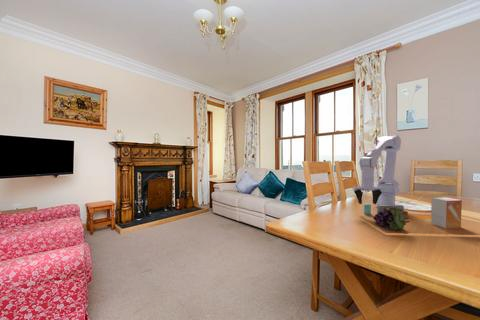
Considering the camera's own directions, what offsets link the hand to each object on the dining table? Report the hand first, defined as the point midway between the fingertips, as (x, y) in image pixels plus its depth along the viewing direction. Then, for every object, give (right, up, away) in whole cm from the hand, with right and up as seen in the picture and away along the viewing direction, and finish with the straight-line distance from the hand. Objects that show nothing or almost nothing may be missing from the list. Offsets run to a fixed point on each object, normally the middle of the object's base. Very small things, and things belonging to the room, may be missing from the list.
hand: (367, 203), depth 110 cm
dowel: (0, -6, 0) cm, 6 cm away
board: (+13, -6, -7) cm, 16 cm away
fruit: (-3, -7, -21) cm, 22 cm away
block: (+13, -5, -3) cm, 14 cm away
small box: (+24, -7, -19) cm, 31 cm away
